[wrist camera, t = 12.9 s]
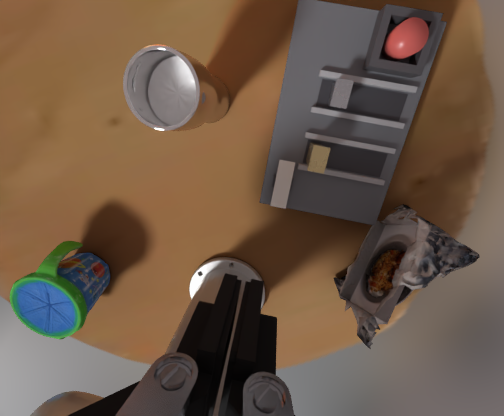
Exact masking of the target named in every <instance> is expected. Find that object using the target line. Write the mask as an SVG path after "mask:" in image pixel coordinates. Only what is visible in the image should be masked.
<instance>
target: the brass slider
mask: <svg viewBox="0 0 504 416" xmlns="http://www.w3.org/2000/svg"><path fill="white" fill-rule="evenodd" d="M330 149H331V148H330V147H325V146H323V145H321V144H316V143H311V142H310V145H309V149H308V154H307V158H306V163H307V165H308V167H307V171H312V172H317V173H322V174H324V171H325V168H326V164H327V160H328V156H329V153H330Z"/></svg>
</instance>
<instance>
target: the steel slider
mask: <svg viewBox="0 0 504 416" xmlns="http://www.w3.org/2000/svg"><path fill="white" fill-rule="evenodd" d="M353 82H354V81H352V80H346V79H340V78H336V80H335V83H333V86H332V90H331V94H330V98H329V102H328V105H329V106H332V107H337V108H343V109H346V108H347V104H348V101H349V97H350V93H351V90H352V86H353Z"/></svg>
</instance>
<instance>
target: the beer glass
mask: <svg viewBox="0 0 504 416" xmlns="http://www.w3.org/2000/svg"><path fill="white" fill-rule="evenodd" d="M123 88H124V94H125V98H126V101H127V103H128V106H129V107H130V109H131V111H132V112H133V114H134V115H135V116H136V117H137V118H138V119H139V120H140V121H141V122H142V123H144V124H145V125H147V126H149V127H151V128H153V129H156V130H161V131H186V130H191V129H195V128H197V127H199V126H201V125H203V124H204V123H214V122H217V121H219V120H220V119H221V118H223V117H224V115H225V114H226V112H227V110H228V108H229V103H230V96H229V92H228V89H227V87H226V85H225V84H224V83H223V82H222V81H221V80H220V79H219V78H218V77H216V76H213V75H211V74H210V72H209V71H208V69H207V68H206V67H205V66H204V65H203V64H201V63H200V62H199V61H198V60H196V59H195V58H193V57H191V56H190V55H188V54H186V53H183V52H181V51H178V50H176V49H174V48H171V47H169V46H165V45H151V46H147V47H145V48H143V49H141V50H139V51H138V52H137V53H135V54H134V55H133V57H132V58H131V59H130V61H129V62H128V64H127V67H126V69H125V73H124V79H123Z"/></svg>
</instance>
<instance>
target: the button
mask: <svg viewBox="0 0 504 416" xmlns="http://www.w3.org/2000/svg"><path fill="white" fill-rule="evenodd" d="M428 36H429V29H428V26H427V24H426V22H425V21H424V20H422V19H420V18H417V17H412V18H409V19H406V20H405V21H403V22H402V23H401V24H399V25H398V26H397V27H395V28H394V29H393V30H392V31H390V32H389V33H388V34H387V35H386V36H385V39H384V43H383V46H382V53H383V56H384V57H385V58H386V59H387V60H389V61H394V62H396V61H400V60H402V59H404V58H406V57H408V56H411V55H413V54H415V53H417V52H419V51H420V50H421V49H422V48H423V47H424V45H425V44H426V42H427V40H428Z"/></svg>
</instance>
